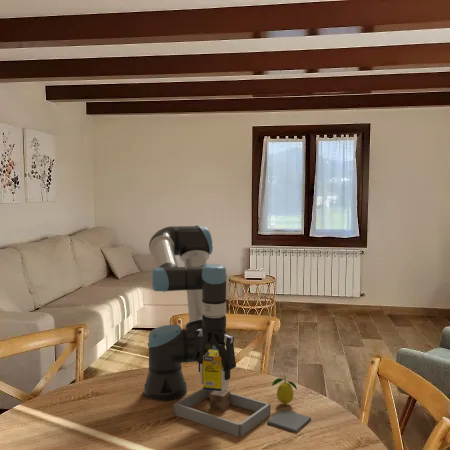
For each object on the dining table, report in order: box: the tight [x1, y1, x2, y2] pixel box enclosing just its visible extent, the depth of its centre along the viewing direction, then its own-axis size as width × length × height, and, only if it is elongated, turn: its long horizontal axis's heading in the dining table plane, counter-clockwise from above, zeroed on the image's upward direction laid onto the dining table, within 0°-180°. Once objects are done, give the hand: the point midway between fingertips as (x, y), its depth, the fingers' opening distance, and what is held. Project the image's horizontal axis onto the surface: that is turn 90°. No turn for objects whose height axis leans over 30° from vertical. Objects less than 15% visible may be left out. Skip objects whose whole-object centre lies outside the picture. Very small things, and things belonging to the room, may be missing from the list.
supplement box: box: [202, 350, 224, 391], centre depth 155 cm, size 6×6×11 cm
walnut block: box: [209, 389, 231, 412], centre depth 165 cm, size 5×5×5 cm
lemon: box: [271, 375, 298, 406], centre depth 166 cm, size 7×6×10 cm
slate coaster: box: [266, 409, 312, 433], centre depth 154 cm, size 10×10×1 cm
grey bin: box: [173, 387, 271, 438], centre depth 159 cm, size 26×18×4 cm
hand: (214, 385), depth 156 cm, fingers closed on supplement box, 8 cm apart
